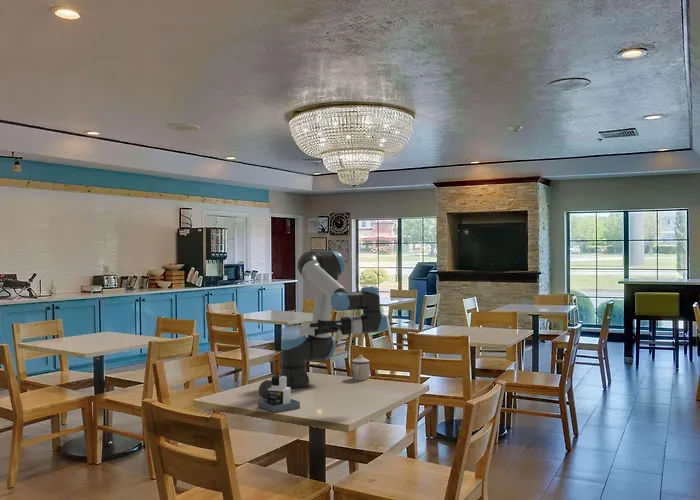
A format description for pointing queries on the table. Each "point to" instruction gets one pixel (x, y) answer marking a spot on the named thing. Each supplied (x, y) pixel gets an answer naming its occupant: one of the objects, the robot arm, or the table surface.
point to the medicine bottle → (279, 391)
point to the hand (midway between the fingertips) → (300, 329)
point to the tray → (278, 406)
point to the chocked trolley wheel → (265, 388)
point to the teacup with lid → (360, 368)
